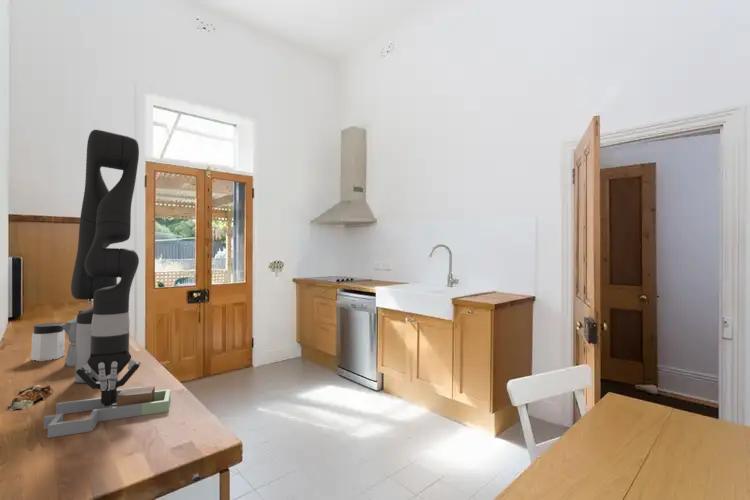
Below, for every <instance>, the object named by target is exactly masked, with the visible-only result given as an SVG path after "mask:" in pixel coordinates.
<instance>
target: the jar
mask: <svg viewBox="0 0 750 500" xmlns="http://www.w3.org/2000/svg"><path fill="white" fill-rule="evenodd" d="M62 324H64V323H63V322H47V323H39V324H35V325H33V332H32V333H31V355H30V356H31V358H30V359H31V361H34V360H36V361H37V362H46V360H47V361H52V359H54V360H59V359H60V358H63V357H65V348H66V347H65V345H66V344H65V343H66V340H65V339H66V332H65V330H64V329H63V328H62V326H59V325H62ZM62 356H63V357H62ZM36 361H35V362H36Z"/></svg>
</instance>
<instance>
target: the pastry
mask: <svg viewBox="0 0 750 500" xmlns="http://www.w3.org/2000/svg"><path fill="white" fill-rule="evenodd" d="M51 392H54V389H53V388H52V387H51V385H49V384H47V385H45V386H42V385H40V384H37V385H35V386H34V385H30V386H27V387H25V388H24V389H21V390H19V391H18V393H17V396H15V397H13V399H12V400H11V403H9V404H8V405H7V409H8V410H9V411H11V412H12V411H15V410H18V409H21V410H22V409H23V410H25V409H26V408H27V409H28V408H30V407H33V405H34V402H36V401H38V400H40V399H41V398H42V400H43V401H46V400H47V399H49V398H50V393H51Z"/></svg>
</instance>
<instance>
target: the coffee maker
mask: <svg viewBox="0 0 750 500" xmlns="http://www.w3.org/2000/svg"><path fill="white" fill-rule="evenodd" d="M82 311H83V310H78V314H79V313H80V312H82ZM59 326H62V328H63V329H64V330H65V334H66V335H67V337H68V342H70V344H69V345H68V349H67V352H66V357H65V362H64V366H66V365H67V367H69V366H71V367H76V329H77V318H74V319H71V320H67V322H66V323H63V324H62V325H59Z"/></svg>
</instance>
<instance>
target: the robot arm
mask: <svg viewBox="0 0 750 500" xmlns="http://www.w3.org/2000/svg"><path fill="white" fill-rule="evenodd" d="M139 155H140V147H139V143H138V141H137V139H136V138H134V137H132V136H128V135H124V134H120V133H116V132H115V133H114V132H110V131H106V130H101V129H93V130H91V131H90V133H89V135H88V139H87V144H86V157H85V159H86V160H85V162H86V163H85V181H84V182H85V183H84V192H83V197H82V198H83V199H82V205H81V210H80V218H79V219H80V220H79V227H78V243H77V252H76V258H75V262H74V266H73V271H72V272H73V273H72V277H71V284H70V291H71V295H72V297H73V298H74V299H75V300H83V301H84V300H93V303H92V304H93V305H92V306H93V307H91V308H88V309H85V310H81V311H82V312H80V313H79V312H78V314H77V316H76V319H77V329H76V366H74V367H75V372H74V374H75V376H74V382H75V383H78V384H87V385H88V386H89V387H90V388H91V389H92V390H99V391H100V394H101V395H100V398H101V403H102V404H104V406H111V407H112V404H113V403H114V402H115V400H116V398H117V389H118V388H119V387H123V386H124V385H125V384H126V383H127V382H128V381H129V380H130V378H131V377H132V376H133V375H134V374H135V372H137V370H138V369H139V368H140V367H141V362H140V361H137V360H135V359H133V358H132V355H131V353H130V321H131V320H130V314H129V310H130V309H129V308H130V294H131V293H130V292H131V287H132V284H133V281H134V277H135V276H136V273H137V270H138V267H139V265H140V264H139V263H140V262H139V261H140V259H139V255H138V253H137V252H136V251H135V250H134V249H131V248H115V247H112V248H111V247H110V248H109V246H110V245H114V244H117V243H118V244H119V243H124V242H126V241H128V240H129V239H130V238H131V230H132V229H131V228H132V227H131V226H132V225H131V222H132V221H131V220H132V218H131V217H132V214H131V213H132V202H133V197H134V192H135V187H136V186H135V185H136V180H137V174H138V173H137V172H138V166H139V158H140V157H139ZM101 168H108V169H114V170H119V171H122V174H121V177H120V179H119V180H118V182H117V183H116V184H115V185H114V186H113V187H112V188H111V189H110V190H109V188H108V187H107V184H106V183H105V179H104V178H103V175H102V171H101ZM118 278H120V280H119V282H118ZM127 365H128V366H127ZM125 367H127V369H128V371H127V372H126V373H125V374H124V375H123V377H121V379H119V377H120V376H119V375H120V373H121V372H122V371H123V370H124V369H125Z"/></svg>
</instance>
